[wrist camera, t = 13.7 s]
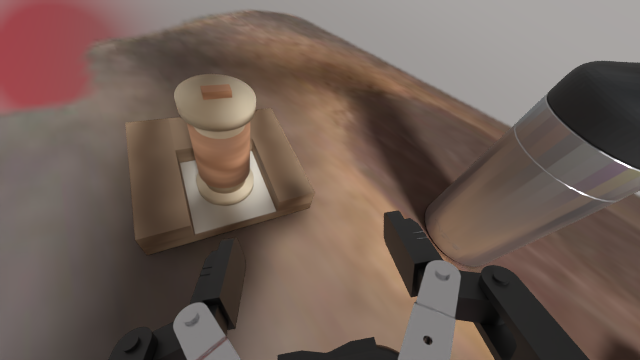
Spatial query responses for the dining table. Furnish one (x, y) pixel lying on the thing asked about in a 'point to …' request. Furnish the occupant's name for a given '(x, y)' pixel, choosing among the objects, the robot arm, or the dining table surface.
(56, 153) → the dining table surface
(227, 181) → the bobbin
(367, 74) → the dining table surface
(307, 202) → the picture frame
